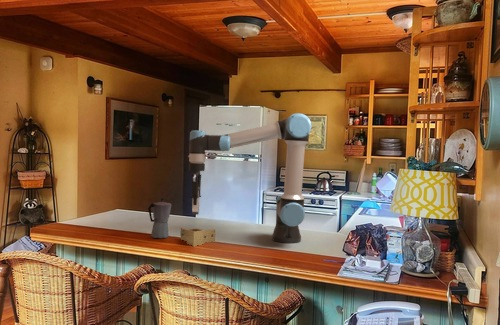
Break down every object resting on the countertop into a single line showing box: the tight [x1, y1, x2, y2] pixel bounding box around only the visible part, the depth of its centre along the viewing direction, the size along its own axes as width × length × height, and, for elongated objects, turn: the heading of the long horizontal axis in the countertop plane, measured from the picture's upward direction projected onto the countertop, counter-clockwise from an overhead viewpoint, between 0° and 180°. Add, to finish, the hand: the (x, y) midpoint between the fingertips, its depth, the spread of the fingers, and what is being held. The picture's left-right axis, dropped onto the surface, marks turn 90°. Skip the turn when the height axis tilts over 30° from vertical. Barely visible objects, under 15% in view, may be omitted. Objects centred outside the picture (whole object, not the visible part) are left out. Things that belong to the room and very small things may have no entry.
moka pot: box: [147, 198, 172, 239], centre depth 208 cm, size 10×15×20 cm, turn 149°
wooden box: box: [180, 227, 216, 247], centre depth 201 cm, size 15×15×7 cm
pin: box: [192, 187, 201, 216], centre depth 194 cm, size 4×4×13 cm
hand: (195, 210), depth 195 cm, fingers closed on pin, 3 cm apart
